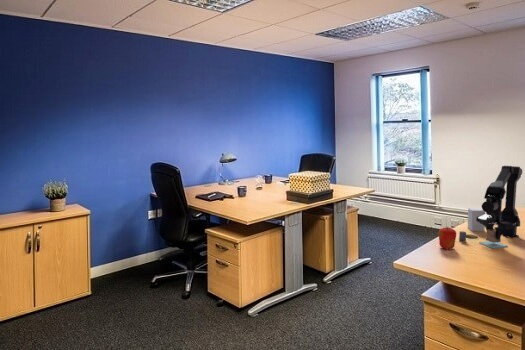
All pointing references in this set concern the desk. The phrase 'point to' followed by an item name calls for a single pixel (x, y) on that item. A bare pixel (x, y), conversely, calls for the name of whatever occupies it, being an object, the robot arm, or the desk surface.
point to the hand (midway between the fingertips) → (493, 238)
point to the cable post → (462, 236)
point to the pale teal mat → (493, 244)
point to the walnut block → (492, 236)
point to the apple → (447, 238)
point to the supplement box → (472, 216)
